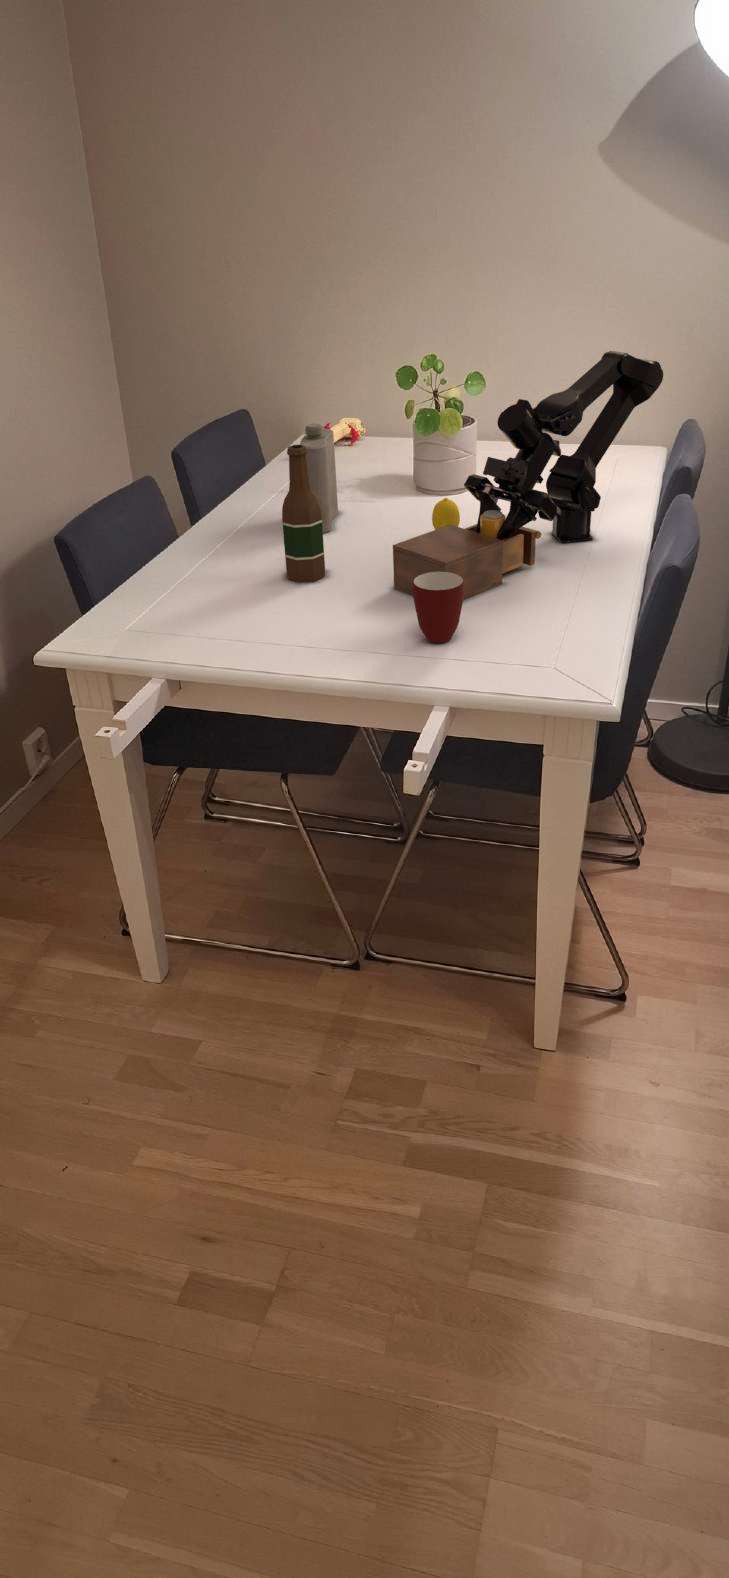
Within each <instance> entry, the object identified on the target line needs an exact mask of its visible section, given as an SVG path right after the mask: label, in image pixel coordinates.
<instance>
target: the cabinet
mask: <svg viewBox="0 0 729 1578" xmlns="http://www.w3.org/2000/svg"><path fill="white" fill-rule="evenodd" d="M392 567H393V589H394V590H397V591H399V592H403V593H405V594H408V595H411V596H413V580H414V579H415V578H416V577H417V576H419V575H422V574H425V573H430V572H449V573H454V574H457V575H459V576H461V577H462V578H463V581H464V597H463V601H465V600H468V599H470V598H472V597H475V596H477V595H480V594H483V593H484V592H486V591H489V590H491V589H495V588H496V587H498V586H501V585H503V574H502V568H503V540H500V539H496V538H493V537H490V536H487V535H483V534H480V533H477V532H473V531H470V530H467V529H465V528H463V527H460V526H458V527H457V526H453V525H448V526H445V527H442V528H439V529H437V530H435V529H434V530H431V531H428V532H426V533H423V534H420V535H417V536H415V537H412V538H409V539H405V540H403V541H400V542H397V543H395V544H392Z"/></svg>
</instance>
